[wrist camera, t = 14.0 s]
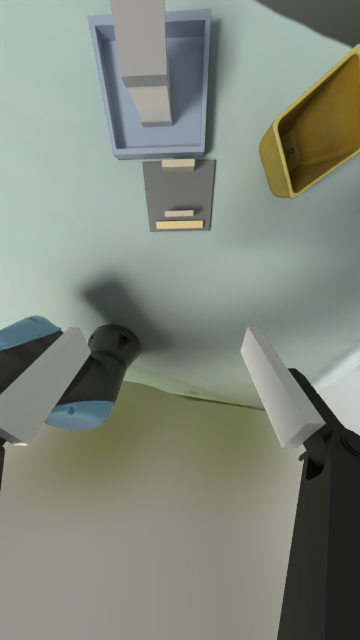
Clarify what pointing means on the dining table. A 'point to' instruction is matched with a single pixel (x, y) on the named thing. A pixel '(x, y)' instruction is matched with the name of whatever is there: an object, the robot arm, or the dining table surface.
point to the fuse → (144, 58)
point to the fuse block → (179, 194)
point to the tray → (186, 88)
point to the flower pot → (315, 131)
